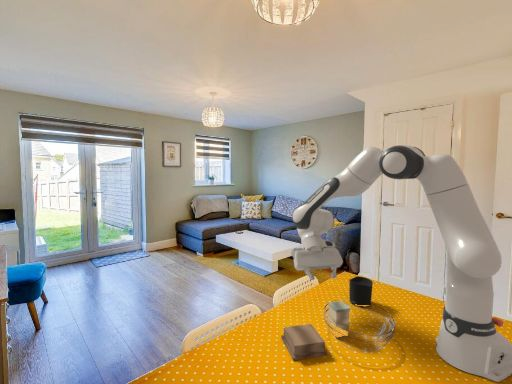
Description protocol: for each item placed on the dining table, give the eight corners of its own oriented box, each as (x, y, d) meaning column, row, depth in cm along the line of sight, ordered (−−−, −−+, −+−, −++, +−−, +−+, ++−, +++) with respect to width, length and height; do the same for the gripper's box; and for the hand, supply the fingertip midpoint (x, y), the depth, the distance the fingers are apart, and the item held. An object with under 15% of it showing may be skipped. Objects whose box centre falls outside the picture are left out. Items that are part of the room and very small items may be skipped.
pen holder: (346, 297, 120) (347, 275, 120) (367, 298, 120) (368, 276, 119) (351, 307, 111) (352, 284, 110) (374, 308, 110) (375, 285, 110)
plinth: (311, 333, 93) (311, 322, 92) (327, 355, 82) (327, 342, 81) (281, 337, 90) (281, 326, 90) (293, 360, 79) (293, 347, 79)
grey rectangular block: (340, 327, 96) (341, 301, 96) (349, 336, 91) (350, 308, 91) (327, 329, 95) (328, 302, 94) (335, 338, 90) (336, 309, 89)
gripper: (292, 244, 108) (301, 277, 99) (337, 242, 112) (350, 273, 104) (288, 252, 113) (296, 284, 104) (332, 249, 117) (343, 279, 108)
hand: (323, 278), depth 104 cm, fingers open, 8 cm apart
